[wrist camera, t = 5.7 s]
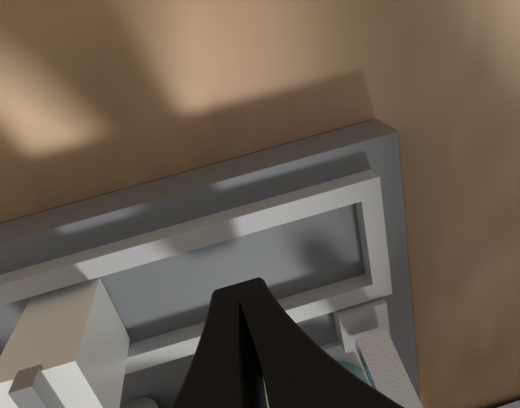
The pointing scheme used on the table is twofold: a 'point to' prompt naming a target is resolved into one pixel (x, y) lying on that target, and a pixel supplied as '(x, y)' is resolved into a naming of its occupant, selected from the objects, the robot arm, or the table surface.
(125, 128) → the table surface
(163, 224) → the panel
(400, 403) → the toggle lever
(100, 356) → the slider knob
